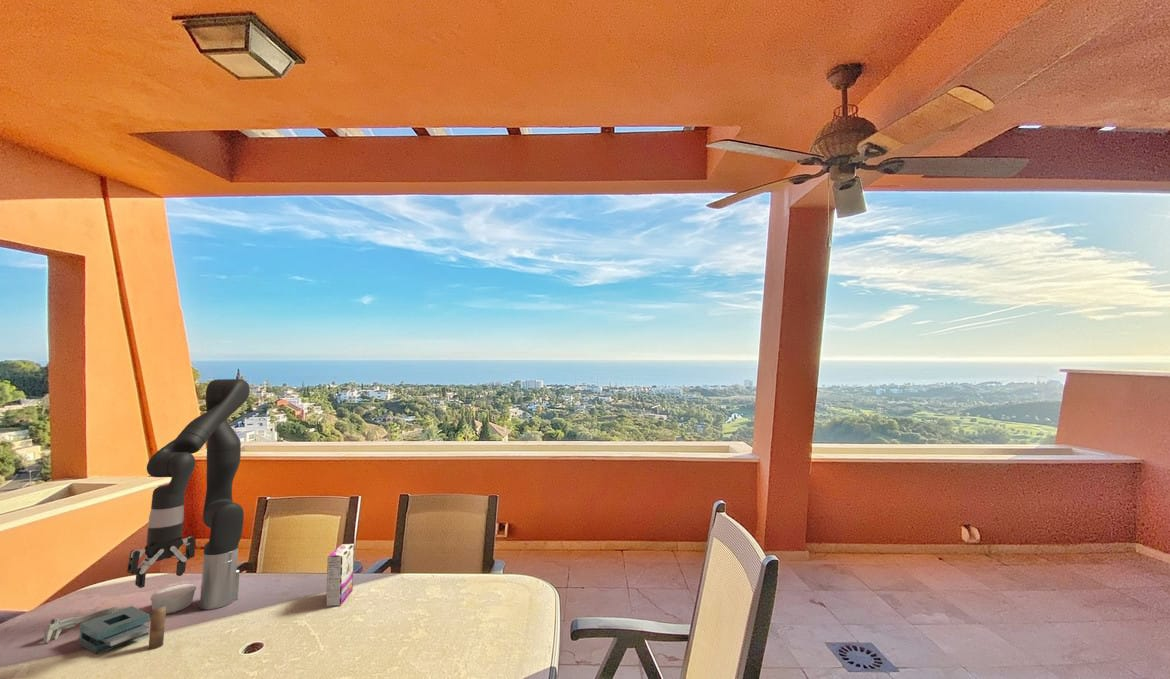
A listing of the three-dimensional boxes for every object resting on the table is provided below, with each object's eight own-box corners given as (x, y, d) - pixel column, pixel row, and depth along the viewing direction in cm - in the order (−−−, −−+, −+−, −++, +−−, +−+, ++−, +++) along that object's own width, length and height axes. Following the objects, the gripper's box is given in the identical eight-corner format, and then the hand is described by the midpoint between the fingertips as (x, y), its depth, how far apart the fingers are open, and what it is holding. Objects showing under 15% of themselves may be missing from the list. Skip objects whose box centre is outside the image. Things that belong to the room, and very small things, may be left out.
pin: (160, 642, 129) (163, 605, 130) (165, 644, 128) (168, 607, 128) (146, 647, 126) (149, 610, 127) (151, 650, 125) (154, 612, 126)
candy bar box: (337, 591, 160) (340, 543, 161) (352, 590, 160) (355, 543, 162) (324, 607, 149) (327, 556, 150) (340, 606, 149) (343, 555, 151)
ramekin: (172, 599, 154) (173, 583, 155) (204, 599, 154) (205, 583, 154) (139, 616, 143) (140, 599, 144) (173, 617, 143) (174, 599, 143)
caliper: (46, 645, 128) (49, 622, 128) (43, 645, 128) (45, 622, 128) (122, 608, 148) (123, 588, 149) (118, 608, 148) (120, 588, 149)
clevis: (130, 624, 138) (131, 606, 138) (154, 637, 131) (156, 617, 132) (78, 643, 128) (80, 623, 129) (102, 658, 121) (104, 636, 122)
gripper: (189, 514, 138) (184, 569, 136) (127, 527, 125) (120, 588, 124) (202, 517, 135) (197, 574, 133) (139, 531, 122) (133, 594, 120)
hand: (160, 581), depth 128 cm, fingers open, 8 cm apart
